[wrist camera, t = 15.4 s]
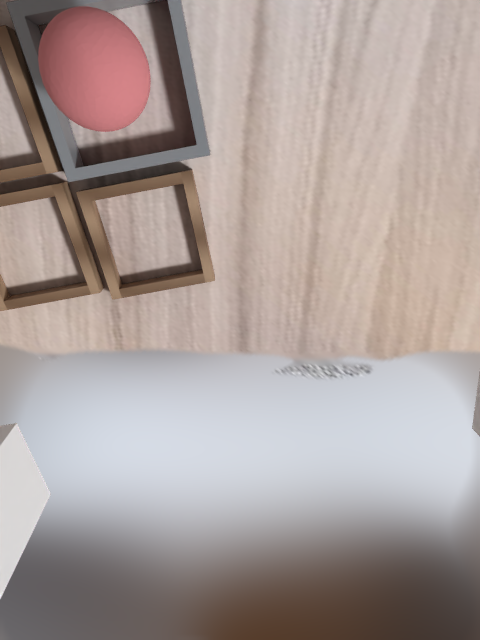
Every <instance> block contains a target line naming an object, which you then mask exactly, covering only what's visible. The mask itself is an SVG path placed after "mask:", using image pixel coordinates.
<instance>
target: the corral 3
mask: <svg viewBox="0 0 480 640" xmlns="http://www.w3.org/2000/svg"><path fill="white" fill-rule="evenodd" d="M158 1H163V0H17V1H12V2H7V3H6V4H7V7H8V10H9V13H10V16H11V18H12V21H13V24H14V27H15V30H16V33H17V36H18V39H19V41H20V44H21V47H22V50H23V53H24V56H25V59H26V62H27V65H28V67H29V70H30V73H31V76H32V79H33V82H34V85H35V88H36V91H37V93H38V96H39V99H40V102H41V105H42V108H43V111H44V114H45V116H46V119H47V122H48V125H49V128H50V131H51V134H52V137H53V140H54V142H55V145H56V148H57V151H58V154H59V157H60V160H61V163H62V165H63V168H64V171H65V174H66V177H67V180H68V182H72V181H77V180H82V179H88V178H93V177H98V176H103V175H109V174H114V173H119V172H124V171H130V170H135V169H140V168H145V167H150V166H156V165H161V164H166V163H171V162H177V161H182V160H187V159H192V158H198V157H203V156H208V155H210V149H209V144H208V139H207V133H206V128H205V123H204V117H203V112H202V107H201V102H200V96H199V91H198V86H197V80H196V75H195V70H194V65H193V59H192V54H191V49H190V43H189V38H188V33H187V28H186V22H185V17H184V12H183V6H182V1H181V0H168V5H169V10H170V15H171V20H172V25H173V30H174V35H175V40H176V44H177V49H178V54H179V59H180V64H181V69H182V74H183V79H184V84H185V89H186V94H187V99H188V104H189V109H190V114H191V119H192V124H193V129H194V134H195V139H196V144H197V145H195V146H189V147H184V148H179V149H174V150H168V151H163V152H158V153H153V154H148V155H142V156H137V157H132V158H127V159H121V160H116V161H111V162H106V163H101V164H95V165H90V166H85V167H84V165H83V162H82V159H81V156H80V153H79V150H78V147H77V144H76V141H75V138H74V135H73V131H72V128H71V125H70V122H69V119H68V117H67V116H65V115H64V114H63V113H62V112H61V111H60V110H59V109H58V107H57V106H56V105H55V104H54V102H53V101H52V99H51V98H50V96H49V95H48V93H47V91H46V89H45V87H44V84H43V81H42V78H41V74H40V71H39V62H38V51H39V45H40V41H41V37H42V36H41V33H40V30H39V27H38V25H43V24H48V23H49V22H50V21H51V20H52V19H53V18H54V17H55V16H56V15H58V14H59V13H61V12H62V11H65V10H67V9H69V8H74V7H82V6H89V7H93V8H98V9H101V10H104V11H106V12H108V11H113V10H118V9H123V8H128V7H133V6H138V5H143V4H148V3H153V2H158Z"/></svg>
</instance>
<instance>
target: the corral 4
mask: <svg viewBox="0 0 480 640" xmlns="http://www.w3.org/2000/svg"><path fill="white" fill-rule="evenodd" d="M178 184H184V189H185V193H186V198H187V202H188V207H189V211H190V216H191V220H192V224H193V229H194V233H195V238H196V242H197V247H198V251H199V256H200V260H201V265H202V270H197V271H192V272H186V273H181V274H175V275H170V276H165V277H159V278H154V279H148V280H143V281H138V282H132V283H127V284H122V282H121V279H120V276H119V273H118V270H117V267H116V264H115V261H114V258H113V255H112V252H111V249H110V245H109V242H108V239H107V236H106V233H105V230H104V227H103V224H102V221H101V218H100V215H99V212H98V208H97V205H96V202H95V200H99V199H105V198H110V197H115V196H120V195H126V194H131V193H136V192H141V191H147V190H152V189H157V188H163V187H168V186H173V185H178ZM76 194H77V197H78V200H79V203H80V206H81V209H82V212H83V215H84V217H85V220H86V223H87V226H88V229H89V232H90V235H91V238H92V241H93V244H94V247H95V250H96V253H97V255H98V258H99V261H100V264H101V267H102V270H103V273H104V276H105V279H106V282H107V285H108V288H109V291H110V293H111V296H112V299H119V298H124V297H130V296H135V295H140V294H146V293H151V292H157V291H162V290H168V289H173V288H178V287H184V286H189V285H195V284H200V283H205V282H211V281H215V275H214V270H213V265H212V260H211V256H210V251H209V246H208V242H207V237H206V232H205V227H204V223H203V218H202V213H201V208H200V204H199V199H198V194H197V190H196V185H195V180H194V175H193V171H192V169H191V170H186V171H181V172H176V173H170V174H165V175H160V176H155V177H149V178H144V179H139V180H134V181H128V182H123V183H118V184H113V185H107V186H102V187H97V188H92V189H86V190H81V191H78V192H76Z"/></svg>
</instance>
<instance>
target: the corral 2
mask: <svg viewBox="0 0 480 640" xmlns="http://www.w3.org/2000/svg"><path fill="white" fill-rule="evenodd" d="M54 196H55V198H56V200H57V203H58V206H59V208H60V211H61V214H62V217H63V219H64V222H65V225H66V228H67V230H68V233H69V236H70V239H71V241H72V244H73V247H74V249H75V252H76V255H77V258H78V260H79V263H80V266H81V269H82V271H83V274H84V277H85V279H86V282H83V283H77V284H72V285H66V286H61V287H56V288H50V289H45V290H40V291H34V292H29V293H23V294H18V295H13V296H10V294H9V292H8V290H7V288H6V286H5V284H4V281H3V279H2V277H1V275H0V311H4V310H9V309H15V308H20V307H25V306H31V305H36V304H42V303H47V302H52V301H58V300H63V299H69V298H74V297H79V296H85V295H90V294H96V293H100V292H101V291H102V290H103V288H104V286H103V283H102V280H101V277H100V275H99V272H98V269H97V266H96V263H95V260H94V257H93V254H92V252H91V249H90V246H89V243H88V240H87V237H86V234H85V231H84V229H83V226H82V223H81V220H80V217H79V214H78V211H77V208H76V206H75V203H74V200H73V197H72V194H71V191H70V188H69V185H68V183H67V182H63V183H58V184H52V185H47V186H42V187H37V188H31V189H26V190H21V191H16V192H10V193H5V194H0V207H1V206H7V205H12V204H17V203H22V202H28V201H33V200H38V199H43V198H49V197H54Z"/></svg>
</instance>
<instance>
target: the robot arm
mask: <svg viewBox="0 0 480 640" xmlns="http://www.w3.org/2000/svg"><path fill="white" fill-rule="evenodd" d="M472 429H473V430H474V431H475V432H476V433H477V434H478V435H479V436H480V373H479V381H478V388H477V396H476V404H475V411H474V419H473V426H472ZM49 497H50V492H49V489H48V487H47V485H46V483H45V481H44V479H43V477H42V475H41V473H40V471H39V469H38V466H37V464H36V462H35V460H34V458H33V456H32V454H31V452H30V450H29V448H28V446H27V444H26V442H25V439H24V437H23V435H22V433H21V431H20V429H19V427H18V425H17V423H16V424H9V425H2V426H0V598H1V596H2V594H3V592H4V590H5V588H6V586H7V584H8V582H9V580H10V577H11V576H12V574H13V571H14V569H15V567H16V565H17V563H18V561H19V559H20V557H21V555H22V552H23V551H24V548H25V546H26V544H27V542H28V540H29V538H30V536H31V534H32V532H33V530H34V528H35V526H36V523H37V522H38V519H39V518H40V515H41V513H42V511H43V509H44V507H45V505H46V503H47V501H48V499H49Z"/></svg>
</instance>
